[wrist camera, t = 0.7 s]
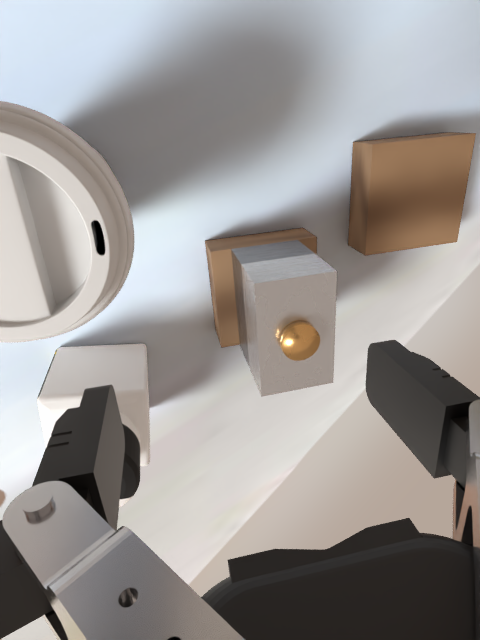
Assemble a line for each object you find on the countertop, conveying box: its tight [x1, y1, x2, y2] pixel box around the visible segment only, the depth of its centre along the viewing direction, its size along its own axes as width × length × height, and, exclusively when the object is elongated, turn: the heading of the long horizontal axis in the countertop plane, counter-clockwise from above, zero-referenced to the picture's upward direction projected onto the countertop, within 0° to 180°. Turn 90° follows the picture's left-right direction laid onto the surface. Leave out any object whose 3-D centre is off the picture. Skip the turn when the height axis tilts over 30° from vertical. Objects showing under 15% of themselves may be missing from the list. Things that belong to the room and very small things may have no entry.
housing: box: [231, 240, 337, 397], centre depth 28 cm, size 8×5×8 cm, turn 5°
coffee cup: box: [0, 101, 134, 342], centre depth 21 cm, size 10×10×15 cm
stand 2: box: [348, 132, 476, 255], centre depth 31 cm, size 8×8×3 cm
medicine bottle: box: [37, 343, 150, 508], centre depth 30 cm, size 7×7×12 cm
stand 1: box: [205, 228, 317, 348], centre depth 32 cm, size 8×8×3 cm
